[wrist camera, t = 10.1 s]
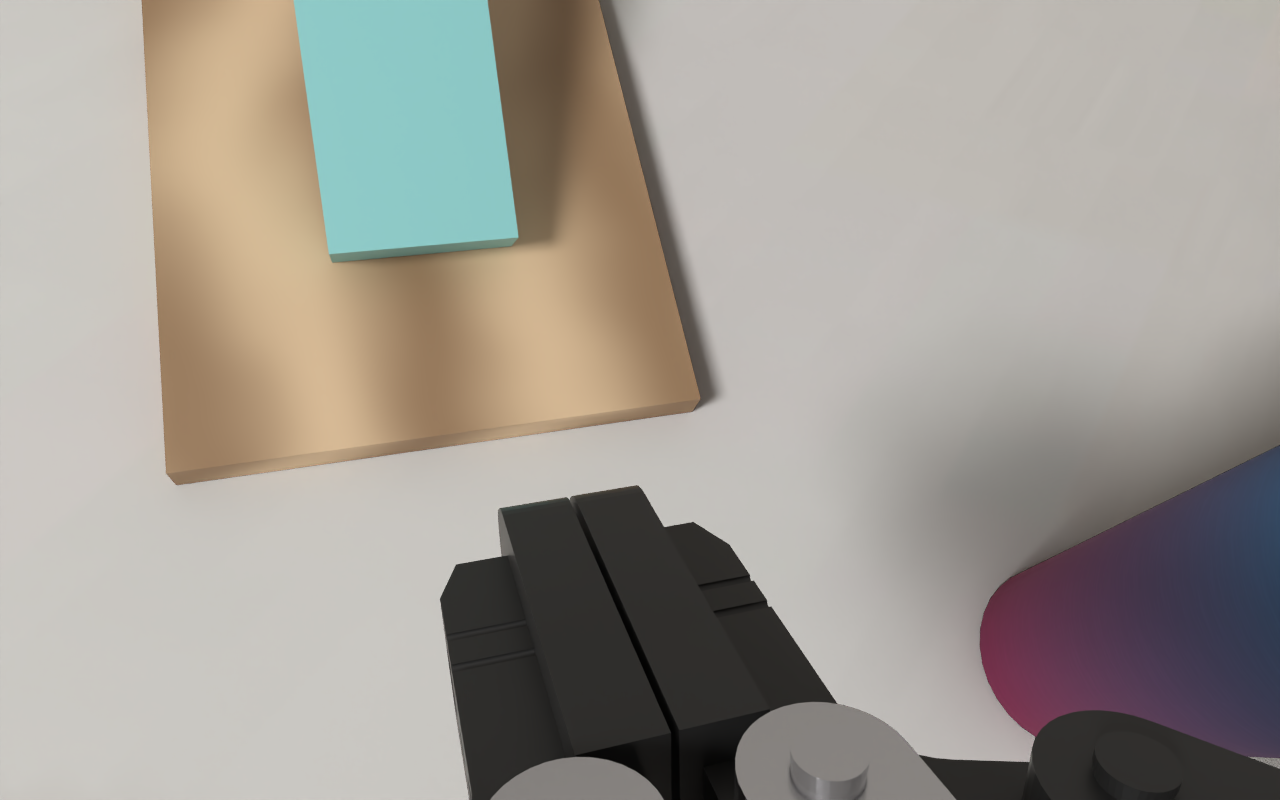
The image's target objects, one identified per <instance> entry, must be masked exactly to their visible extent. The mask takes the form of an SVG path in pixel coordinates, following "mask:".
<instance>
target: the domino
mask: <svg viewBox="0 0 1280 800" xmlns="http://www.w3.org/2000/svg"><path fill="white" fill-rule="evenodd" d="M294 7H295V14H296V21H297V29H298V36H299V43H300V50H301V57H302V65H303V72H304V79H305V86H306V93H307V101H308V108H309V115H310V122H311V129H312V137H313V144H314V151H315V158H316V165H317V173H318V180H319V187H320V194H321V201H322V209H323V216H324V223H325V230H326V237H327V245H328V252H329V256H330V258H331V261H332V263H334V262H345V261H356V260H367V259H378V258H389V257H400V256H411V255H422V254H433V253H444V252H455V251H466V250H477V249H488V248H499V247H510V246H512V245H513V244H514V242H515V241H516V240H517V239H518V238H519V237H518V229H517V221H516V214H515V206H514V199H513V191H512V183H511V176H510V168H509V161H508V153H507V145H506V138H505V130H504V122H503V115H502V107H501V100H500V92H499V84H498V77H497V69H496V61H495V54H494V46H493V39H492V31H491V23H490V16H489V8H488V1H487V0H294Z"/></svg>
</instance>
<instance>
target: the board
mask: <svg viewBox="0 0 1280 800" xmlns="http://www.w3.org/2000/svg"><path fill="white" fill-rule="evenodd" d="M487 1H488V8H489V16H490V23H491V31H492V39H493V46H494V54H495V61H496V69H497V77H498V84H499V92H500V100H501V107H502V115H503V122H504V130H505V138H506V145H507V153H508V161H509V168H510V176H511V183H512V191H513V199H514V206H515V214H516V221H517V229H518V237H519V238H518V239H517V240H516V241H515V242H514V244H513V245H512V246H510V247H499V248H488V249H477V250H466V251H455V252H444V253H433V254H422V255H411V256H400V257H389V258H378V259H367V260H356V261H345V262H334V263H332V261H331V258H330V256H329V252H328V245H327V237H326V230H325V223H324V216H323V209H322V201H321V194H320V187H319V180H318V173H317V165H316V158H315V151H314V144H313V137H312V129H311V122H310V115H309V108H308V101H307V93H306V86H305V79H304V72H303V65H302V57H301V50H300V43H299V36H298V29H297V21H296V14H295V7H294V0H142V15H143V35H144V54H145V73H146V93H147V112H148V132H149V151H150V170H151V190H152V209H153V228H154V248H155V267H156V287H157V306H158V325H159V345H160V364H161V383H162V403H163V422H164V442H165V461H166V474H167V475H168V476H169V477H170V478H171V480H172V481H173V482H174V483H175V484H176V485H181V484H188V483H195V482H202V481H209V480H216V479H223V478H230V477H237V476H244V475H251V474H258V473H265V472H272V471H279V470H286V469H293V468H300V467H307V466H314V465H321V464H328V463H335V462H342V461H349V460H356V459H363V458H370V457H377V456H384V455H391V454H398V453H405V452H412V451H419V450H426V449H433V448H440V447H447V446H454V445H461V444H468V443H475V442H482V441H489V440H497V439H504V438H511V437H518V436H525V435H532V434H539V433H546V432H553V431H560V430H567V429H574V428H581V427H588V426H595V425H602V424H609V423H616V422H623V421H630V420H637V419H644V418H651V417H658V416H665V415H672V414H679V413H686V412H692V411H693V410H694V408H695V407H696V405H697V404H698V402H699V401H700V399H701V398H700V394H699V390H698V386H697V383H696V379H695V375H694V371H693V367H692V363H691V359H690V355H689V351H688V347H687V343H686V340H685V336H684V332H683V328H682V324H681V320H680V316H679V312H678V308H677V304H676V300H675V297H674V293H673V289H672V285H671V281H670V277H669V273H668V269H667V265H666V261H665V257H664V254H663V250H662V246H661V242H660V238H659V234H658V230H657V226H656V222H655V218H654V214H653V210H652V207H651V203H650V199H649V195H648V191H647V187H646V183H645V179H644V175H643V171H642V167H641V164H640V160H639V156H638V152H637V148H636V144H635V140H634V136H633V132H632V128H631V124H630V121H629V117H628V113H627V109H626V105H625V101H624V97H623V93H622V89H621V85H620V81H619V78H618V74H617V70H616V66H615V62H614V58H613V54H612V50H611V46H610V42H609V38H608V34H607V31H606V27H605V23H604V19H603V15H602V11H601V7H600V3H599V0H487Z"/></svg>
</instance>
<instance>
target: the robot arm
mask: <svg viewBox="0 0 1280 800" xmlns="http://www.w3.org/2000/svg"><path fill="white" fill-rule="evenodd" d="M498 522H499V534H500V544H501V554H502V557H496V558H491V559H485V560H480V561H474V562H468V563H463V564H457V565H456V566H455V568H454V570H453V572H452V575H451V577H450V579H449V581H448V583H447V585H446V587H445V589H444V591H443V594H442V596H441V598H440V602H441V609H442V617H443V624H444V631H445V639H446V646H447V653H448V661H449V668H450V675H451V683H452V690H453V697H454V705H455V712H456V719H457V725H458V732H459V738H460V744H461V750H462V756H463V763H464V769H465V776H466V782H467V788H468V794H469V800H1280V769H1278V768H1276V767H1273V766H1270V765H1267V764H1265V763H1262V762H1259V761H1257V760H1254V759H1251V758H1249V757H1246V756H1243V755H1241V754H1238V753H1235V752H1233V751H1230V750H1227V749H1225V748H1222V747H1219V746H1217V745H1214V744H1211V743H1209V742H1206V741H1203V740H1201V739H1198V738H1195V737H1193V736H1190V735H1187V734H1185V733H1182V732H1179V731H1177V730H1174V729H1171V728H1169V727H1166V726H1163V725H1161V724H1158V723H1155V722H1152V721H1150V720H1146V719H1143V718H1140V717H1137V716H1134V715H1129V714H1125V713H1120V712H1113V711H1104V710H1085V711H1078V712H1072V713H1068V714H1065V715H1062V716H1059V717H1057V718H1055V719H1054V720H1052V721H1050V722H1048V723H1047V724H1046V725H1045V726H1044V727H1043V728H1042V729H1041V730H1040V731H1039V733H1038V735H1037V736H1036V738H1035V741H1034V744H1033V748H1032V752H1031V757H1030V762H1006V761H976V760H950V759H939V758H932V757H927V756H922V755H918V754H917V753H916V752H915V750H914V749H913V748H912V747H911V746H910V745H909V743H908V742H907V741H906V740H905V739H904V738H903V737H902V736H901V735H900V734H899V733H898V732H897V731H895V730H894V729H893V728H892V727H890V726H889V725H888V724H886V723H885V722H883V721H881V720H880V719H878V718H876V717H874V716H873V715H870V714H868V713H866V712H863V711H861V710H858V709H855V708H852V707H848V706H845V705H840V704H837V703H836V701H835V700H834V698H833V697H832V695H831V694H830V692H829V691H828V689H827V688H826V686H825V685H824V683H823V682H822V681H821V679H820V678H819V676H818V675H817V673H816V672H815V670H814V669H813V667H812V666H811V664H810V663H809V661H808V660H807V658H806V657H805V655H804V654H803V653H802V651H801V650H800V648H799V647H798V645H797V644H796V642H795V641H794V639H793V638H792V636H791V635H790V633H789V632H788V630H787V629H786V628H785V626H784V625H783V623H782V622H781V620H780V619H779V617H778V616H777V614H776V613H775V611H774V610H773V608H772V607H768V605H767V600H766V598H765V597H764V595H763V594H762V592H761V591H760V589H759V588H758V586H757V585H756V583H755V582H754V581H751V580H750V575H749V573H748V572H747V570H746V569H745V567H744V566H743V564H742V563H741V561H740V560H739V558H738V557H737V555H736V554H735V552H734V551H733V549H732V548H731V547H730V545H729V544H727V543H726V542H724V541H723V540H721V539H719V538H718V537H716V536H715V535H713V534H712V533H710V532H708V531H707V530H705V529H704V528H702V527H700V526H699V525H697V524H696V523H694V522H691V523H685V524H680V525H674V526H669V527H664V526H663V525H662V523H661V521H660V519H659V518H658V516H657V514H656V513H655V511H654V509H653V507H652V506H651V504H650V502H649V501H648V499H647V497H646V495H645V494H644V492H643V491H642V489H641V488H640V487H639V486H637V485H636V486H630V487H624V488H618V489H612V490H606V491H600V492H594V493H588V494H582V495H576V496H572V497H571V498H570V501H569V499H568V498H566V497H565V498H559V499H553V500H547V501H541V502H535V503H529V504H523V505H517V506H511V507H505V508H499V510H498Z"/></svg>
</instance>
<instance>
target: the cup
mask: <svg viewBox="0 0 1280 800" xmlns="http://www.w3.org/2000/svg"><path fill="white" fill-rule="evenodd" d="M980 650H981V657H982V664H983V667H984V670H985V673H986V676H987V679H988V682H989V684H990V686H991V688H992V690H993V692H994V694H995V696H996V698H997V699H998V701H999V702H1000V703H1001V705H1002V706H1003V707H1004V709H1005V710H1006V712H1007V713H1008V714H1009V715H1010V716H1011V717H1012V718H1013V719H1014V720H1015V721H1016V722H1017V723H1018V724H1019V725H1020V726H1021V727H1022V728H1024V729H1025V730H1027V731H1028V732H1030V733H1031V734H1033V735H1034V736H1035V737H1036V736H1037V735H1038V733H1039V731H1040V730H1041V729H1042V728H1043V727H1044V726H1045V725H1046V724H1047V723H1048V722H1050V721H1052V720H1054V719H1055V718H1057V717H1059V716H1062V715H1065V714H1068V713H1072V712H1078V711H1085V710H1104V711H1113V712H1120V713H1125V714H1129V715H1134V716H1137V717H1140V718H1143V719H1146V720H1150V721H1152V722H1155V723H1158V724H1161V725H1163V726H1166V727H1169V728H1171V729H1174V730H1177V731H1179V732H1182V733H1185V734H1187V735H1190V736H1193V737H1195V738H1198V739H1201V740H1203V741H1206V742H1209V743H1211V744H1214V745H1217V746H1219V747H1222V748H1225V749H1227V750H1230V751H1233V752H1235V753H1238V754H1241V755H1243V756H1246V757H1268V758H1280V445H1279V446H1277V447H1275V448H1273V449H1271V450H1269V451H1267V452H1265V453H1263V454H1261V455H1259V456H1257V457H1255V458H1253V459H1251V460H1249V461H1247V462H1245V463H1242V464H1240V465H1238V466H1236V467H1234V468H1232V469H1230V470H1228V471H1226V472H1224V473H1222V474H1220V475H1218V476H1216V477H1214V478H1212V479H1210V480H1208V481H1206V482H1204V483H1202V484H1200V485H1198V486H1196V487H1194V488H1192V489H1190V490H1188V491H1186V492H1184V493H1182V494H1180V495H1178V496H1176V497H1173V498H1171V499H1169V500H1167V501H1165V502H1163V503H1161V504H1159V505H1157V506H1155V507H1153V508H1151V509H1149V510H1147V511H1145V512H1143V513H1141V514H1139V515H1137V516H1135V517H1133V518H1131V519H1129V520H1127V521H1125V522H1123V523H1121V524H1119V525H1117V526H1115V527H1113V528H1111V529H1109V530H1106V531H1104V532H1102V533H1100V534H1098V535H1096V536H1094V537H1092V538H1090V539H1088V540H1086V541H1084V542H1082V543H1080V544H1078V545H1076V546H1074V547H1072V548H1070V549H1068V550H1066V551H1064V552H1062V553H1060V554H1058V555H1056V556H1054V557H1052V558H1050V559H1048V560H1046V561H1044V562H1042V563H1039V564H1037V565H1035V566H1033V567H1031V568H1029V569H1027V570H1025V571H1023V572H1021V573H1019V574H1017V575H1015V576H1013V577H1011V578H1010V579H1008V580H1007V581H1006V582H1005V583H1004V584H1002V585H1001V586H1000V587H999V588H998V589H997V591H996V592H995V593H994V595H993V596H992V597H991V599H990V601H989V603H988V605H987V607H986V609H985V612H984V615H983V619H982V624H981V628H980Z"/></svg>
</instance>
